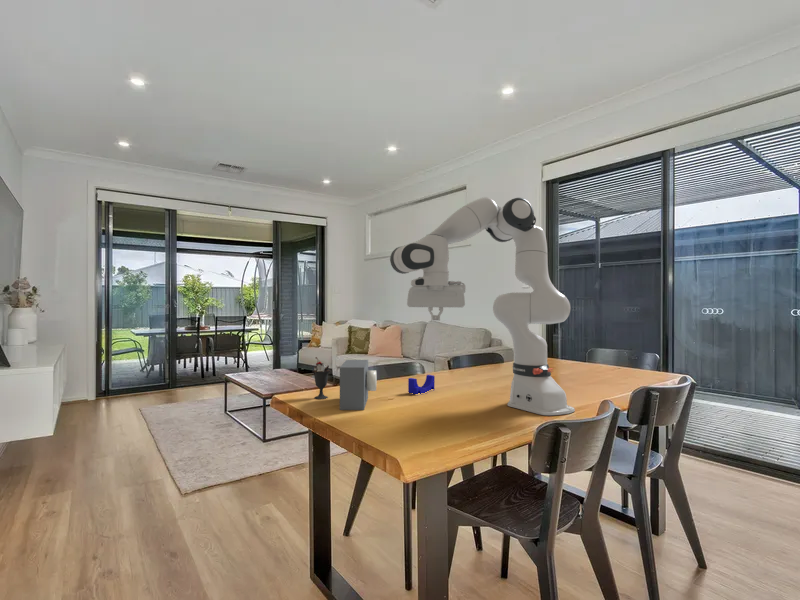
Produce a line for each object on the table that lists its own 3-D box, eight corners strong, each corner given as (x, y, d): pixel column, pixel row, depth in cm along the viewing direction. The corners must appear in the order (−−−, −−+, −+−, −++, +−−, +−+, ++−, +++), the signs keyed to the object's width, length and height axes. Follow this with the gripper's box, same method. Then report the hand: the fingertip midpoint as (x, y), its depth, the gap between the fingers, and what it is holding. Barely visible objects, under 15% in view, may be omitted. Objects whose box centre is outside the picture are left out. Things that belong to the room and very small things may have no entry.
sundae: (309, 396, 160) (309, 356, 160) (327, 395, 163) (327, 355, 163) (314, 400, 154) (314, 358, 154) (332, 398, 157) (332, 357, 157)
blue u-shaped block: (416, 395, 163) (416, 380, 163) (408, 393, 167) (408, 378, 167) (437, 391, 172) (437, 376, 172) (428, 389, 175) (428, 374, 175)
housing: (368, 397, 159) (368, 359, 159) (363, 410, 141) (364, 367, 141) (346, 397, 159) (346, 359, 159) (339, 409, 141) (339, 367, 141)
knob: (376, 388, 154) (376, 369, 154) (375, 392, 147) (375, 372, 147) (351, 388, 154) (351, 368, 154) (349, 392, 147) (349, 372, 147)
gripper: (464, 281, 154) (463, 320, 154) (407, 281, 154) (406, 319, 154) (466, 281, 148) (466, 321, 148) (407, 280, 148) (407, 320, 148)
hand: (435, 320), depth 151 cm, fingers closed
